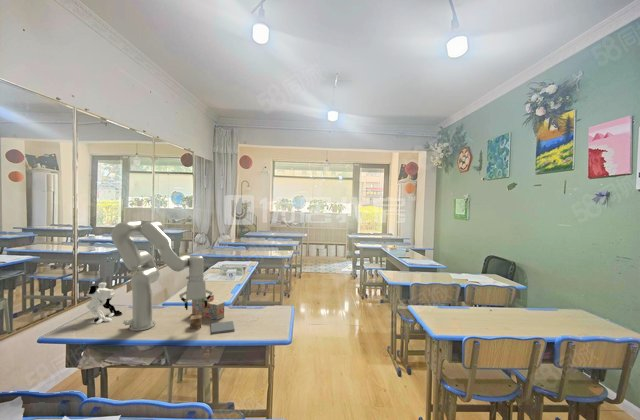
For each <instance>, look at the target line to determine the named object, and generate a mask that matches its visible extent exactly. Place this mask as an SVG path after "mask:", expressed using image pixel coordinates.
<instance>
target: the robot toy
mask: <svg viewBox="0 0 640 420" xmlns="http://www.w3.org/2000/svg"><path fill="white" fill-rule="evenodd" d="M88 295H90V297H91V300H90V301H89V302H88V303H87V305H86V308H87V309H88V310H89V311H90V312H91V314H93V315H97V318H95V319H94V320H93V321H94V322H95V325H99V324H101V323H102V322H106V323H108V322H111V321H113V319H112V317H113V316H122V315H123V312H122V311H120V310H116V308H115V306H114V305H113V304H111V300H112V299H113V298H114V297H115V296H116V293H115V291H114V289H113V288H110V289H109V288H107V282H99V283H98V285H92V286H89V290H88ZM99 306H102V307H103V308H104V309H108V310H109V311H108V312H106V314H104V312H103V311H102V310H101V309H99Z"/></svg>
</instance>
